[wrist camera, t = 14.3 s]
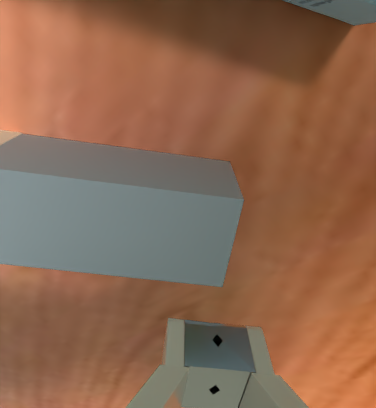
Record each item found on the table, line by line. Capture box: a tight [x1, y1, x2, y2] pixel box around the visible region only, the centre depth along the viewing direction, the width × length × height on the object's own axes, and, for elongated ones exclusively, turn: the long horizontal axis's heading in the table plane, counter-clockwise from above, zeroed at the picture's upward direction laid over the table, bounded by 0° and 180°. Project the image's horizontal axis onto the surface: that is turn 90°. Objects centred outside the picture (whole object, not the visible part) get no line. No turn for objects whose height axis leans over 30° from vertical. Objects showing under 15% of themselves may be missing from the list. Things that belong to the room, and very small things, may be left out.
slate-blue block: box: [0, 130, 244, 287], centre depth 17 cm, size 5×5×13 cm
